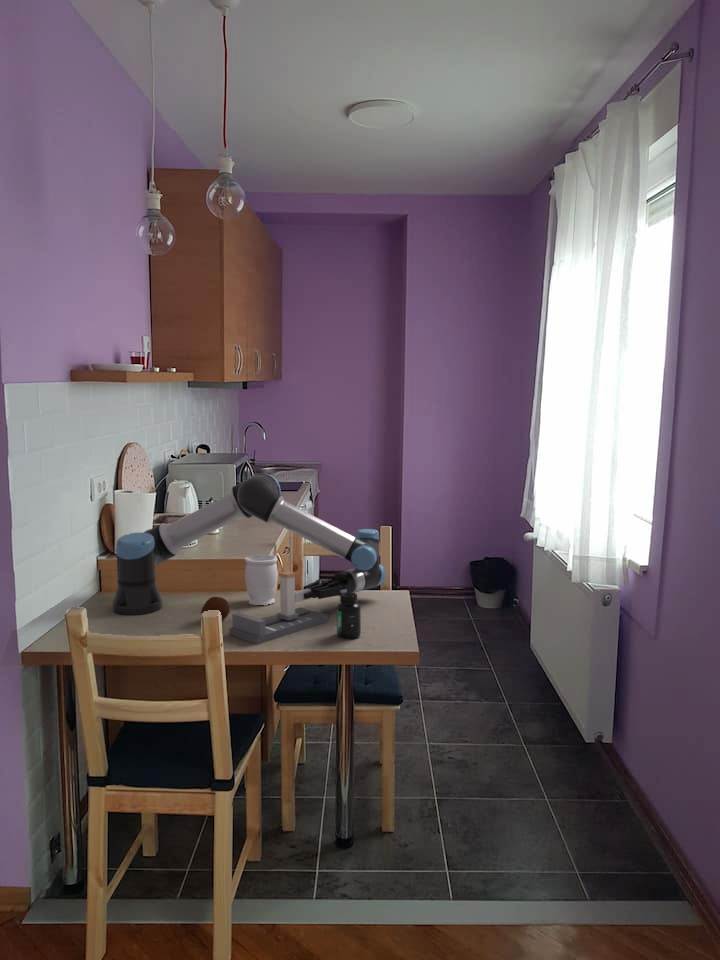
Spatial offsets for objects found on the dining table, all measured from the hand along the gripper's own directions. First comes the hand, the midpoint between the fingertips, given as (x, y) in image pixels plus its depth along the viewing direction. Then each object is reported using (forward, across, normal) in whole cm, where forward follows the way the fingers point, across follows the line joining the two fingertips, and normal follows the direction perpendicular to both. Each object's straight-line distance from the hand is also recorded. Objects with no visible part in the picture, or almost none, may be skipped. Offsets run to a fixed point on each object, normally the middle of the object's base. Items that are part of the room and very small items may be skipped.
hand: (293, 597), depth 232 cm
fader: (+2, +1, -6) cm, 6 cm away
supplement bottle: (-3, -19, -8) cm, 21 cm away
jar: (-9, +25, -8) cm, 28 cm away
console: (+5, +1, -8) cm, 10 cm away
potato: (+13, +20, -9) cm, 25 cm away
